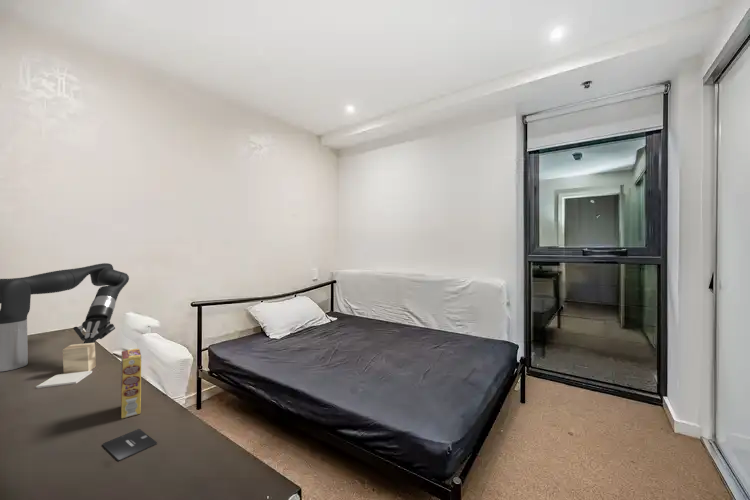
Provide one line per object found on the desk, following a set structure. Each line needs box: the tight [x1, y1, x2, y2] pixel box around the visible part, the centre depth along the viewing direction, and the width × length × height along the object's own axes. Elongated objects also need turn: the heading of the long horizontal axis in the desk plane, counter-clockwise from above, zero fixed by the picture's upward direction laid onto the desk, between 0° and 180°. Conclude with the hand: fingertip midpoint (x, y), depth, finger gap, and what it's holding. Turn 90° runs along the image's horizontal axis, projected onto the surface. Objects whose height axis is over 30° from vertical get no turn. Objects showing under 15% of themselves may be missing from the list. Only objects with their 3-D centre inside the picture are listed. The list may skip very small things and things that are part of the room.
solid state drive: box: [102, 428, 158, 462], centre depth 69 cm, size 7×10×1 cm
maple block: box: [62, 342, 97, 374], centre depth 113 cm, size 5×7×9 cm
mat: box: [35, 370, 93, 389], centre depth 105 cm, size 10×10×1 cm
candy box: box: [120, 348, 142, 419], centre depth 85 cm, size 9×4×15 cm, turn 39°
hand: (86, 349), depth 116 cm, fingers closed
